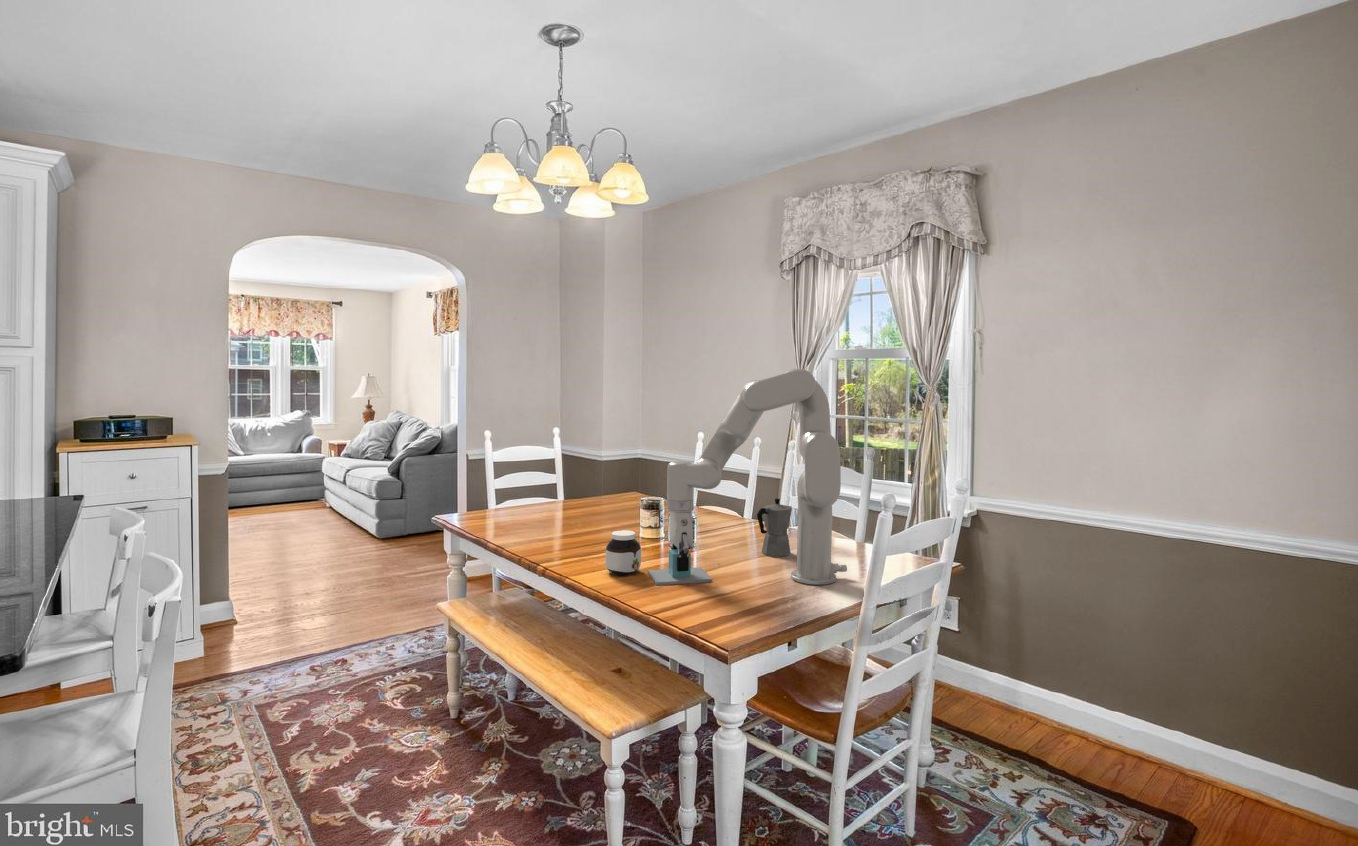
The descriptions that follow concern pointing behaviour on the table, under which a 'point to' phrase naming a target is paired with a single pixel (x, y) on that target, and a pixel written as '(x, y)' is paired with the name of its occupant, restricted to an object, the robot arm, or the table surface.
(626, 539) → the spread jar
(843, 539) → the table surface
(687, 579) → the stand
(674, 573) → the teal block
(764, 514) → the coffeepot
